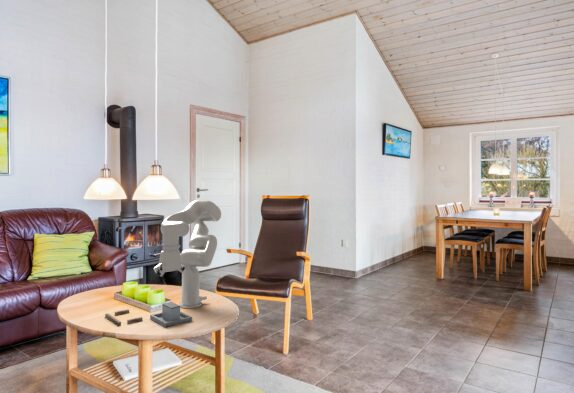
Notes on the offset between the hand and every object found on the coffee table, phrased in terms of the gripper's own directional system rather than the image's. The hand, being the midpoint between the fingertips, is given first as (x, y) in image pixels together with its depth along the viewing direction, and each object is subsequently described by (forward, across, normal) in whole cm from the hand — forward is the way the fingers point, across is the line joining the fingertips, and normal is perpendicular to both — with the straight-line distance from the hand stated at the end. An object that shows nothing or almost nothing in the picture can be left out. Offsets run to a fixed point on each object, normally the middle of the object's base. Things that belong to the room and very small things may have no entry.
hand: (170, 282), depth 202 cm
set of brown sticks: (+18, +17, -16) cm, 30 cm away
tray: (+18, 0, +2) cm, 19 cm away
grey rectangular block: (+18, 0, +2) cm, 18 cm away
